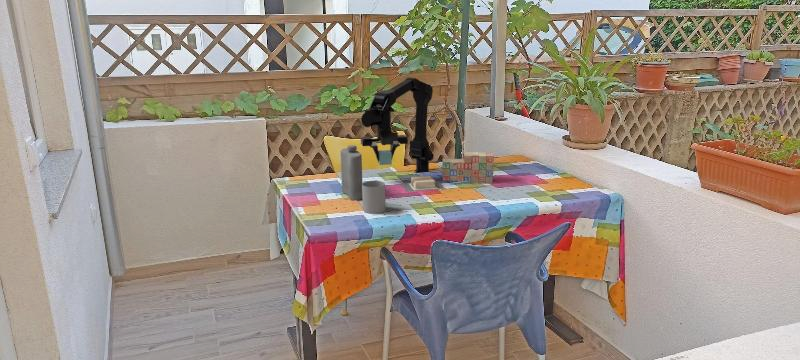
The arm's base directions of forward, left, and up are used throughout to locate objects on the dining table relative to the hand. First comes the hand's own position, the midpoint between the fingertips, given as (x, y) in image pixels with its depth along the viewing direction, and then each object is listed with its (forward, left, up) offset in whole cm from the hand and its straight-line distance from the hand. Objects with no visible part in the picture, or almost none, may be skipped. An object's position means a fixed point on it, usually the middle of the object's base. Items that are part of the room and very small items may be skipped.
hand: (384, 160), depth 241 cm
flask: (+11, -15, -11) cm, 21 cm away
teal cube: (0, 0, -1) cm, 1 cm away
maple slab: (+9, +14, -9) cm, 19 cm away
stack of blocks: (+3, +35, -11) cm, 37 cm away
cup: (+31, -10, -11) cm, 34 cm away
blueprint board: (+9, +14, -10) cm, 20 cm away
